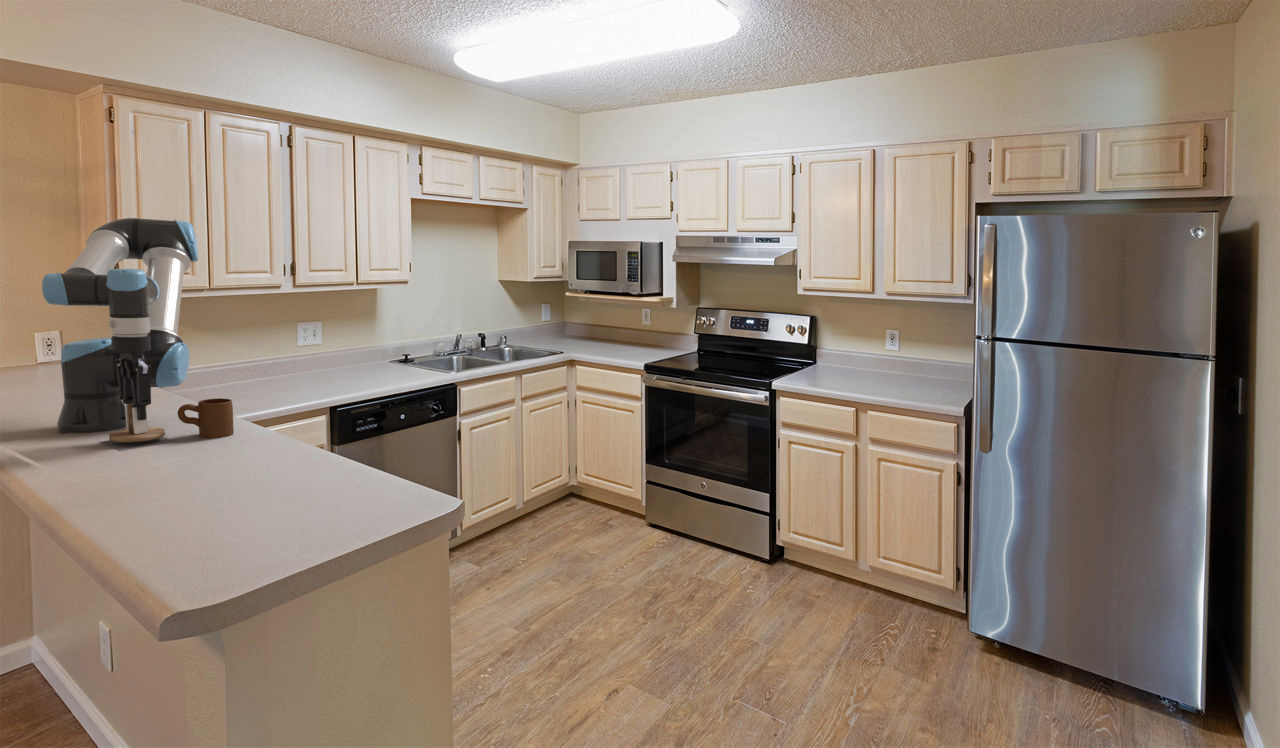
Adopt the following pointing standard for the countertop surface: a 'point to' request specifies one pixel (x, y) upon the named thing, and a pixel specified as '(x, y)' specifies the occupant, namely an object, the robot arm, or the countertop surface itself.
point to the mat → (135, 443)
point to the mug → (210, 417)
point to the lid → (131, 437)
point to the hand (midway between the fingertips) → (137, 431)
